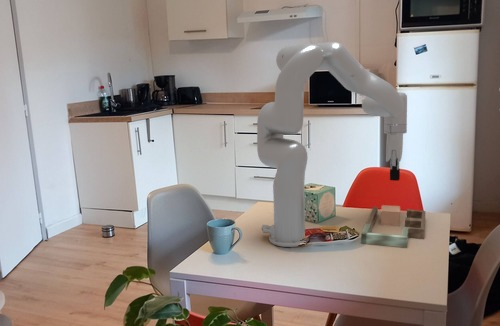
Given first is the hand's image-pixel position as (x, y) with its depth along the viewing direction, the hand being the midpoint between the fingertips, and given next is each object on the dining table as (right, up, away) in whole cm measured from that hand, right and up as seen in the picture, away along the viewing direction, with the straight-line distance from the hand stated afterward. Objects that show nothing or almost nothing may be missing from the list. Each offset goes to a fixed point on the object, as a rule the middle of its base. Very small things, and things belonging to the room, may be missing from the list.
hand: (394, 179), depth 173 cm
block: (-4, -14, -7) cm, 16 cm away
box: (-4, -16, -15) cm, 22 cm away
